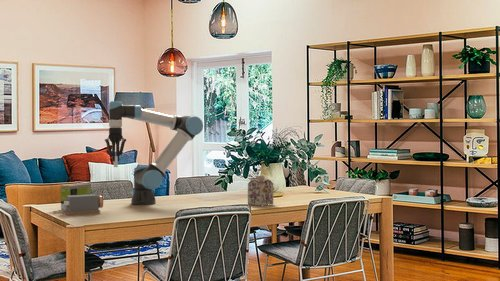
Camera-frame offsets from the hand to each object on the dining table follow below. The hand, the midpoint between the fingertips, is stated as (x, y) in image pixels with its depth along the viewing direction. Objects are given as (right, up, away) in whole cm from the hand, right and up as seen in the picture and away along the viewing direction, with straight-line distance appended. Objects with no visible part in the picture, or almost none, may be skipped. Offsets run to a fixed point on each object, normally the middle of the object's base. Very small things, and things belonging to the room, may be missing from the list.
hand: (115, 166), depth 401 cm
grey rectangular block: (-13, -23, -23) cm, 35 cm away
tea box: (-22, -25, -5) cm, 34 cm away
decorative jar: (+86, -24, +17) cm, 91 cm away
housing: (-14, -25, -23) cm, 37 cm away
